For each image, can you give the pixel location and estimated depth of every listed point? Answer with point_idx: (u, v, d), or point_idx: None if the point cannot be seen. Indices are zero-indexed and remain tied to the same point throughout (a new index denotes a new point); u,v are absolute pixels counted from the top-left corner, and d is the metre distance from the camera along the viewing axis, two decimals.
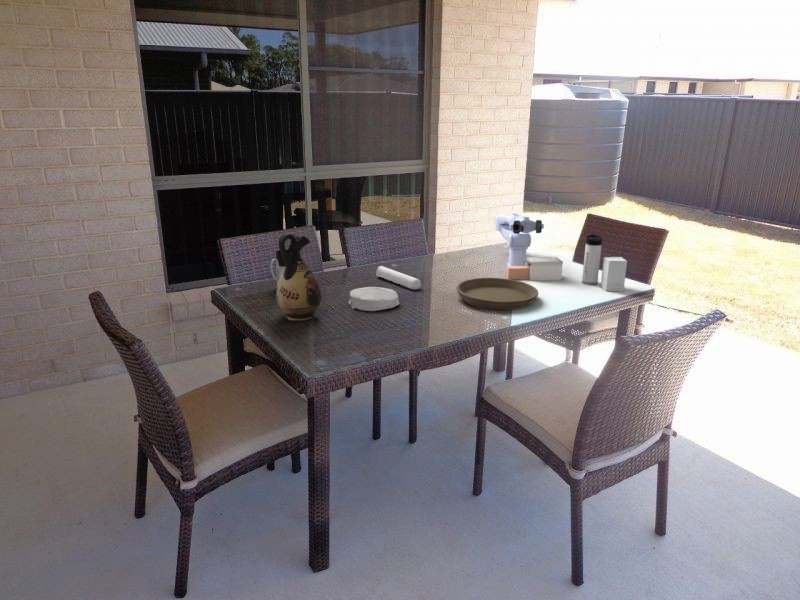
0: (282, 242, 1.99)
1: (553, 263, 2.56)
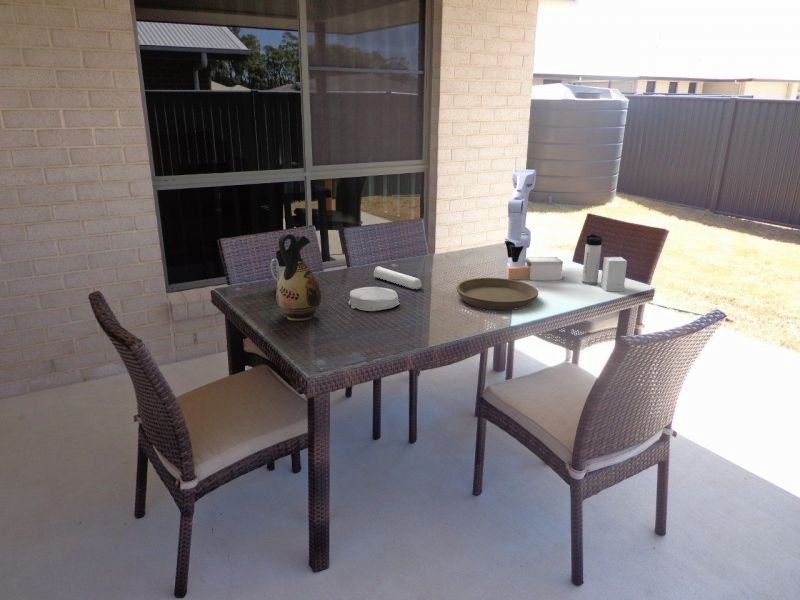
0: (282, 242, 1.99)
1: (553, 263, 2.56)
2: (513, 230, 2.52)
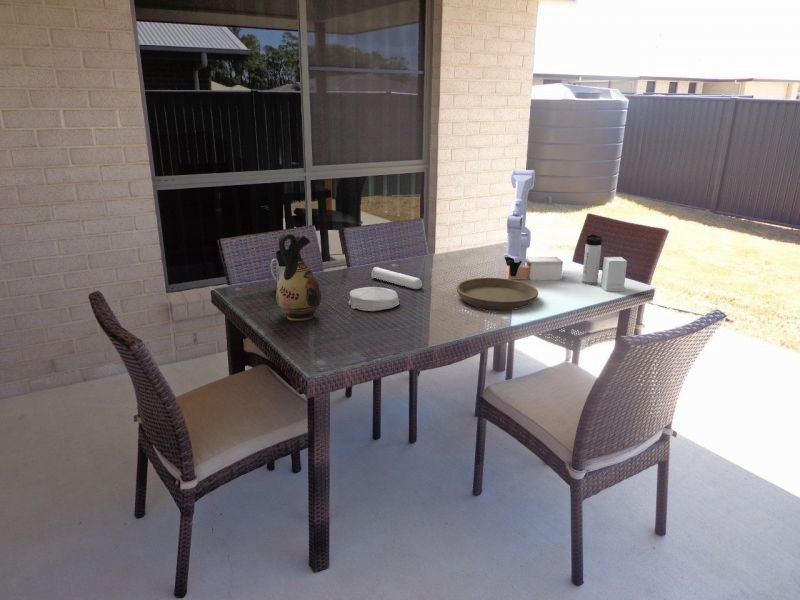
0: (282, 242, 1.99)
1: (553, 263, 2.56)
2: (512, 246, 2.54)
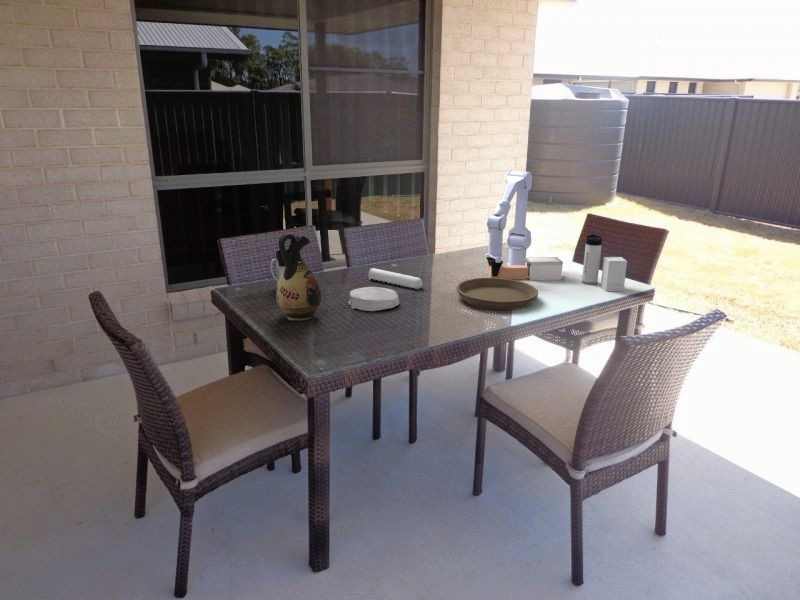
0: (282, 242, 1.99)
1: (553, 263, 2.56)
2: (493, 246, 2.54)
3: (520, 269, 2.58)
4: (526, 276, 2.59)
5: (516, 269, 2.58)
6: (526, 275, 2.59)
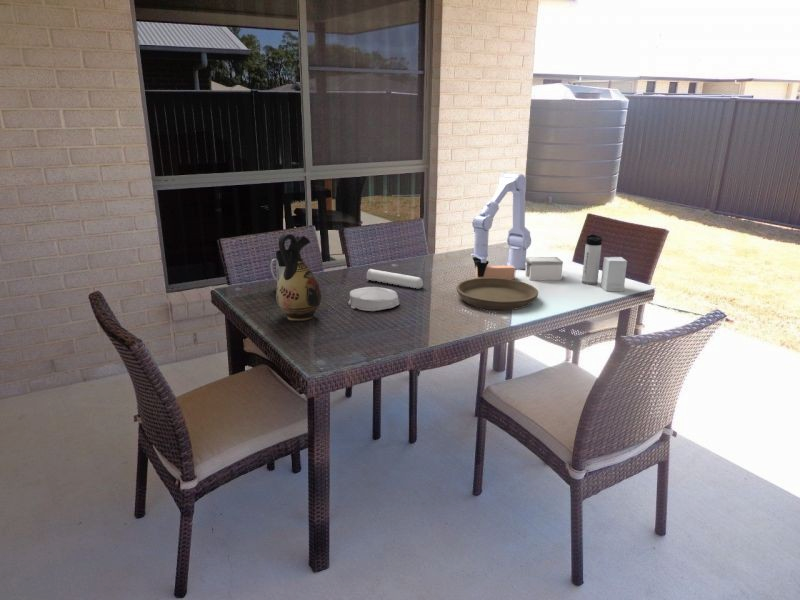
0: (282, 242, 1.99)
1: (553, 263, 2.56)
2: (479, 246, 2.53)
3: (506, 269, 2.58)
4: (512, 276, 2.59)
5: (502, 269, 2.58)
6: (512, 275, 2.59)
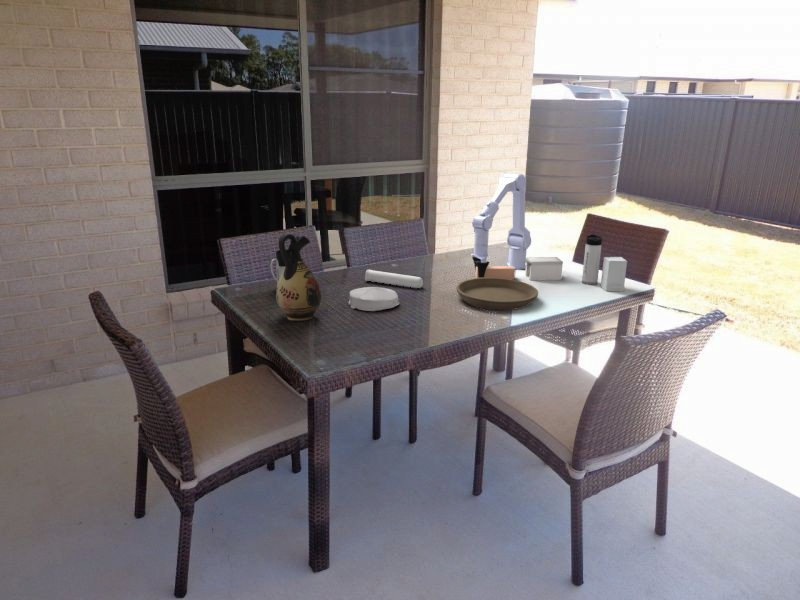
0: (282, 242, 1.99)
1: (553, 263, 2.56)
2: (479, 246, 2.53)
3: (506, 270, 2.58)
4: (512, 277, 2.59)
5: (502, 270, 2.58)
6: (512, 276, 2.59)
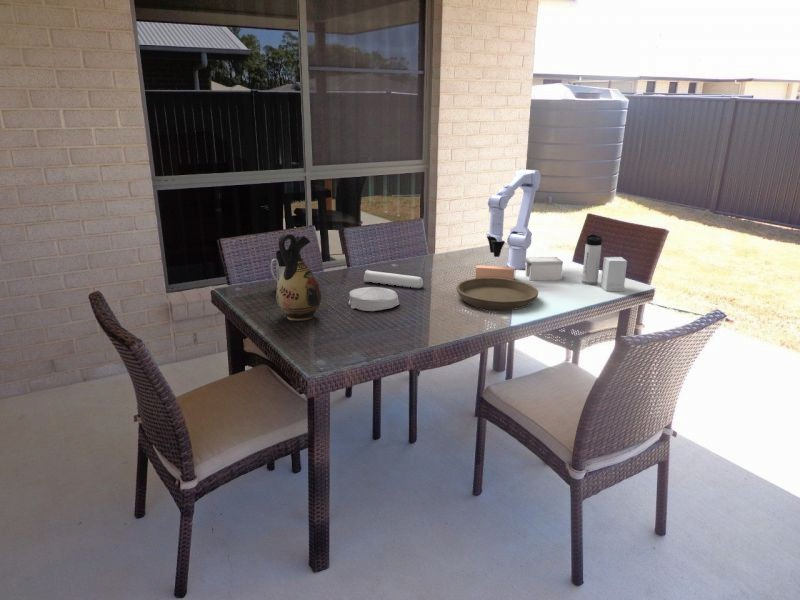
0: (282, 242, 1.99)
1: (553, 263, 2.56)
2: (495, 225, 2.55)
3: (505, 271, 2.57)
4: (512, 278, 2.57)
5: (501, 270, 2.57)
6: (512, 277, 2.57)
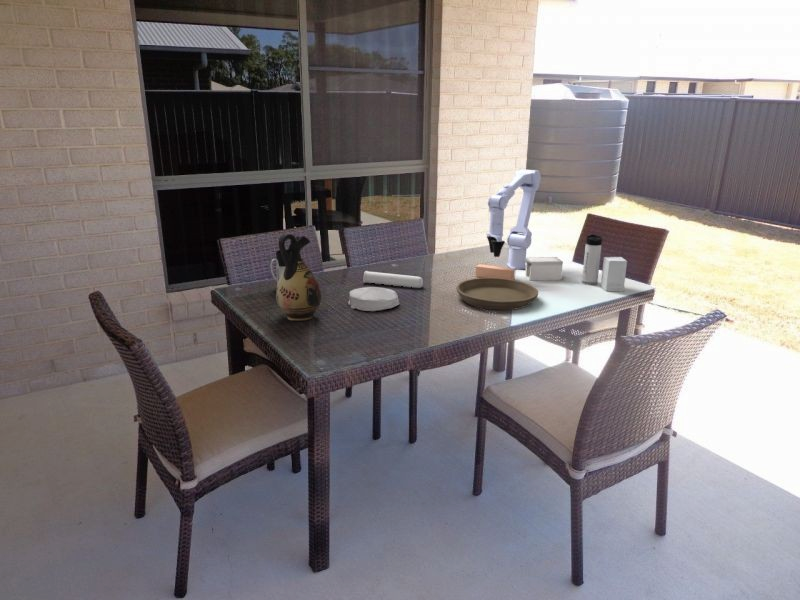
0: (282, 242, 1.99)
1: (553, 263, 2.56)
2: (495, 225, 2.55)
3: (503, 271, 2.56)
4: None
5: (500, 271, 2.57)
6: (509, 278, 2.55)
